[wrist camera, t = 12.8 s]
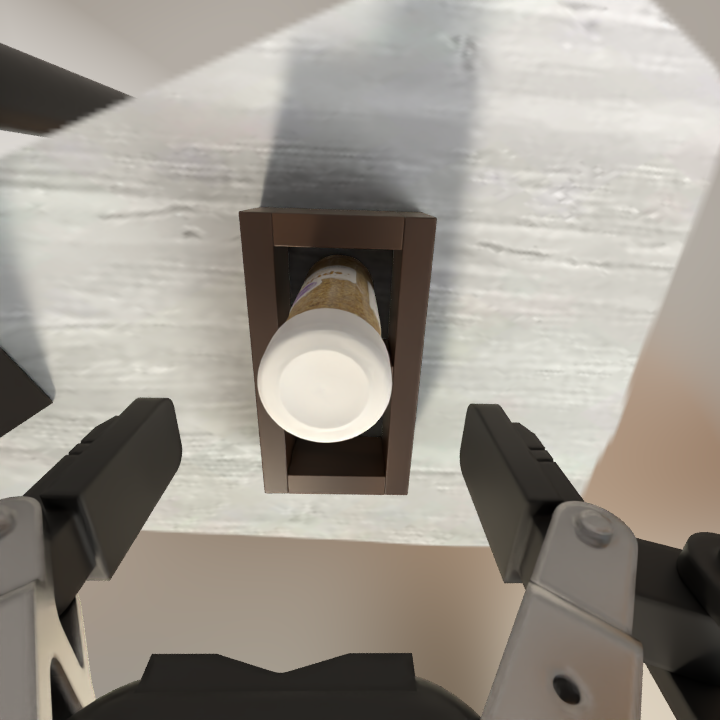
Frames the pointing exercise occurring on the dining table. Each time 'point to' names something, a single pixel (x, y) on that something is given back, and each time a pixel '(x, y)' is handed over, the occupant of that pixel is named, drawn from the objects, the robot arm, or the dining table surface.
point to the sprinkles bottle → (328, 357)
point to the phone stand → (17, 395)
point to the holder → (404, 344)
